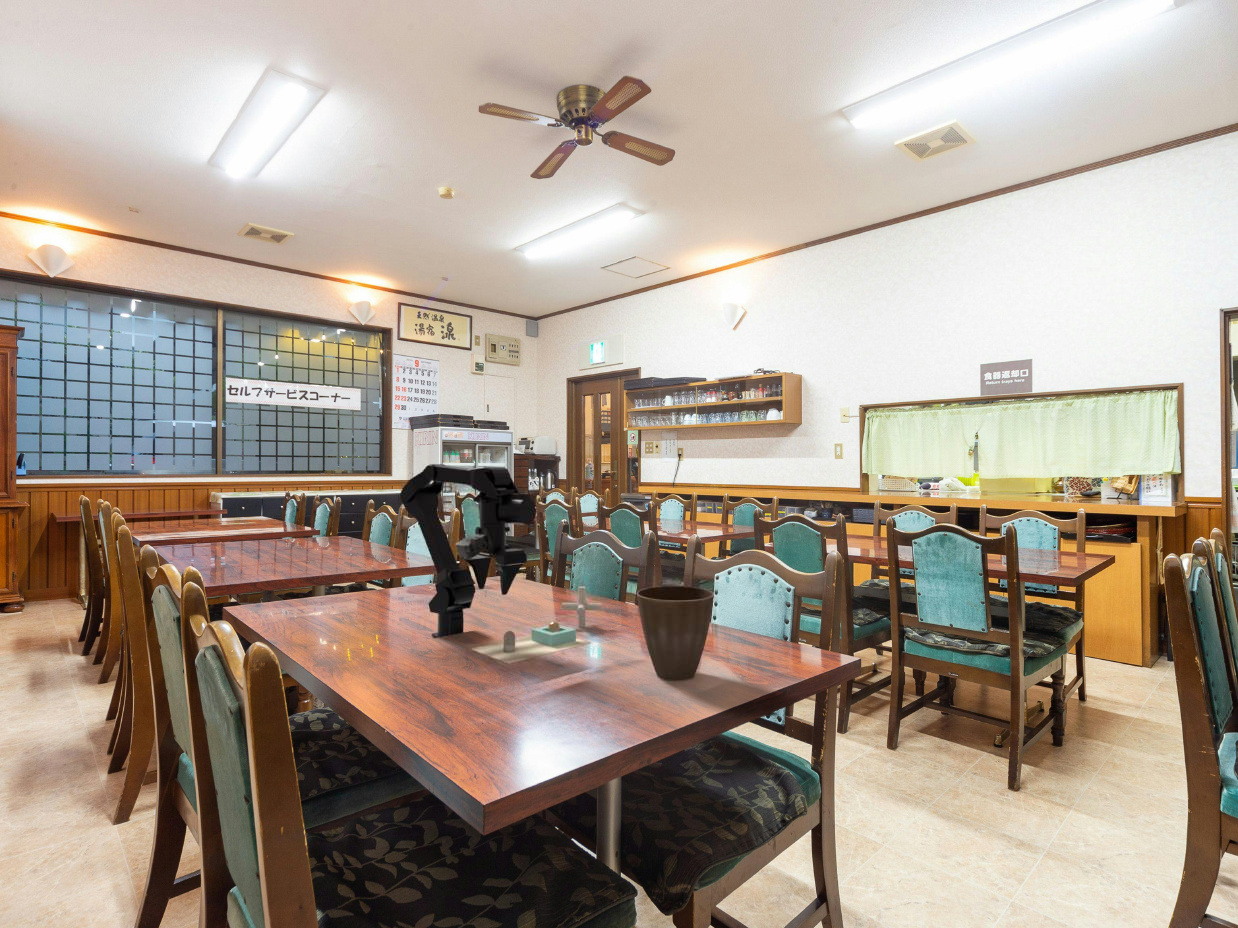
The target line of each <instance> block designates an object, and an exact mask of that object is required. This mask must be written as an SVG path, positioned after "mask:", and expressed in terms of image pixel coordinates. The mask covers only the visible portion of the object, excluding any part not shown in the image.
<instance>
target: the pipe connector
mask: <svg viewBox="0 0 1238 928" xmlns="http://www.w3.org/2000/svg"><path fill="white" fill-rule="evenodd" d="M577 588H578V589H577V591H578V595H577V596H578V597H577V599H578V600H577V601H578V602H562V603H561V611H576V613H577V615H578V616H577V619H578V620H577V622H578V623H577V627H578V628H586V611H602V608H603V604H602V602H600V603H599V602H587V600H586V591H587V590H586V586H578V587H577Z"/></svg>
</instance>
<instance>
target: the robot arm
mask: <svg viewBox="0 0 1238 928" xmlns="http://www.w3.org/2000/svg"><path fill="white" fill-rule="evenodd" d="M445 483H452V484H458V485H466V486H469V487H471V488H472V489H473V490H475V491H478V492H479V493H478V494H477V495H475V496H474V498H473V499H472V501H473V502H474V503H479V504H480V506H479V507H480V510H479V511H480V516H479V517H480V520H479V522H480V523H479V524H480V525H479V526H476V528H475V529H474V532H475V533H474V534H472V535H470V536H467V537H466V538H464V539H462V540H459V541H457V542H456V543H455V546H456V550H457V553H458V556H459V558H463V560H464V561H465V562H467V563H468V564H469V565H470V566H471V569H472V571H473V574H474V577H475V580H476V581H475V580H474V579H473V576H472V572H471V570H470V569H469V568H468V567H467V568H462V567H460V565H458V562H457V560H456V558H455V555H454V552H453V549H452V547H451V545H450V542H449V540H448V537H447V534H446V533H445V530H444V526H443V524H442V522H441V519H440V517H439V515H438V510H439V505H440V500H439V496H440V495H441V493H442V492H443V491H444V486H445V485H444V484H445ZM399 496H400V497H399V498H400V501H401V503H402V505H403V507H404V509H405V511H406V512H407V513H408V514H409V515H411V516H412V517H413V518H414V519H415V520H416V521H417V523H418V526H419V529H420V531H421V534H422V536H423V539H424V542H425V544H426V548H427V549H428V551H429V555H430V558H431V560H432V562H433V565H434V568H435V570H436V579H435V591H436V594H434V596H433V597H432V598H431V599H430V600H429V602H428V608H429V612H430V613H433V614H437V632H434V633H431V636H432V637H434V638H436V639H439V638H444V637H450V636H453V635H458V634H464V633H465V631H464V626H465V625H464V621H465V620H464V610H465V609H470V608H471V607H472V603H473V599H474V597H475V593H476V586H475V584H476V583H477V587H478V589H479V590H484V588H485V585H486V582H487V580H488V579H487V578H488V573H489V570H490V565H491V560H492V558H493V559H494V560H495V564H494V567H495V568H496V569H497V570H498V572H499V578H500V580H499V581H500V582H499V583H500V591H501V595H502V596H506V595H507V594H508V593H509V591H510V589H511V586H512V584H513V582H514V581H515V577H516V576H517V574H518V572H519V571H520V569H521V568H522V567H524V565H525V564H527V563H528V553H527V551H525V549H521V548H510V547H511V545H509V544H507V532H510V530H511V527H510V526H507V524H509V525H511V524H512V525H522V526H523V525H526V526H529V525H530V524H532V523H533V522H534V520H535V519H536V516H537V507H536V505H535V503H534V501H533V499H531V494H530V493H521V492H520V491H519V489H518V488H517V486H516V484H515V482H514V480H513V479H512V476H511V474H510V471H509V469H508V468H506V467H503V466H483V467H482V466H481V467H474V468H470V467H469V468H468V467H460V466H450V465H446V464H443V463H442V464H441V463H439V464H437V463H431V464H428V465H427V466H425V468H423V470H422V471H421V472H419V473H418V474H416V475H415V476H413V477H412V478H410V479H409V480H408V481H407V483H406V484H404V485H403V487H402V489H401V491H400V494H399Z"/></svg>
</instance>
